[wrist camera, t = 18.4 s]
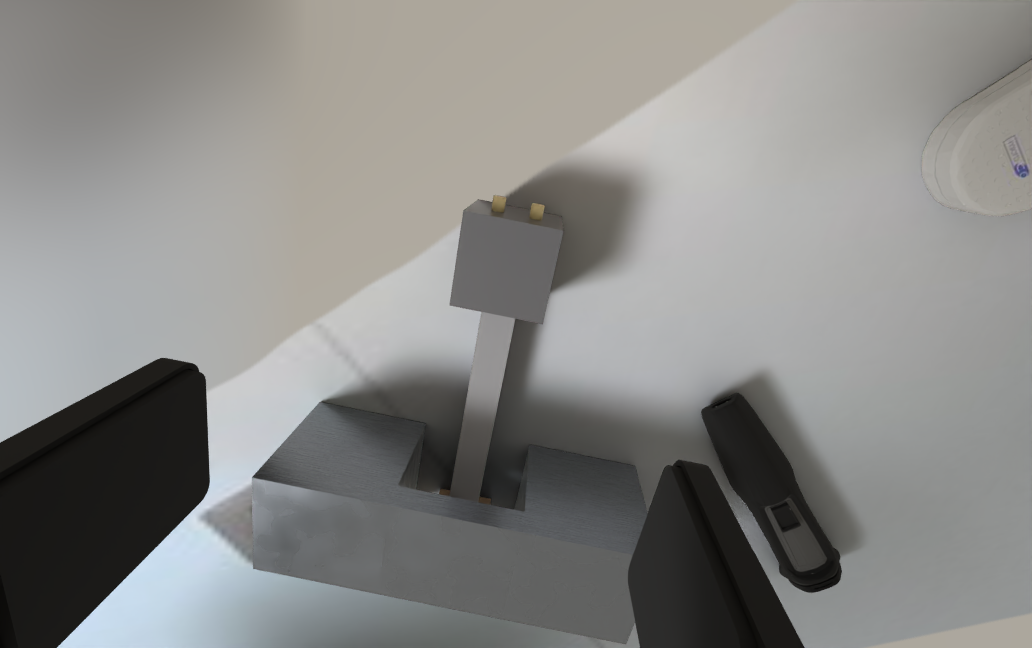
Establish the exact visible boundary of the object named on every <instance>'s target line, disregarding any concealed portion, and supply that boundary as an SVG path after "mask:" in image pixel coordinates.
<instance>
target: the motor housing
mask: <svg viewBox="0 0 1032 648" xmlns="http://www.w3.org/2000/svg"><path fill="white" fill-rule="evenodd" d="M425 425H426V423H421V422H416V421H412V420H407V419H402V418H397V417H392V416H387V415H382V414H377V413H372V412H367V411H362V410H357V409H353V408H348V407H343V406H338V405H333V404H328V403H323V402H319V404H318V405H317V406H316V407H315V408H314V409H313V410H312V411H311V413H310V414H309V415H308V416H307V417H306V418H305V419H304V420H303V421H302V423H301V424H300V425H299V426H298V427H297V428H296V429H295V430H294V431H293V433H292V434H291V435H290V436H289V437H288V438H287V439H286V440H285V441H284V443H283V444H282V445H281V446H280V447H279V448H278V449H277V450H276V451H275V453H274V454H273V455H272V456H271V457H270V458H269V459H268V460H267V461H266V463H265V464H264V465H263V466H262V467H261V468H260V469H259V470H258V471H257V473H256V474H255V475H254V476H253V477H252V517H253V569H257V570H262V571H267V572H272V573H277V574H282V575H287V576H292V577H296V578H301V579H306V580H311V581H316V582H321V583H326V584H331V585H336V586H341V587H346V588H351V589H356V590H361V591H366V592H370V593H375V594H380V595H385V596H390V597H395V598H400V599H405V600H410V601H415V602H420V603H425V604H430V605H435V606H440V607H444V608H449V609H454V610H459V611H464V612H469V613H474V614H479V615H484V616H489V617H494V618H499V619H504V620H509V621H514V622H518V623H523V624H528V625H533V626H538V627H543V628H548V629H553V630H558V631H563V632H568V633H573V634H578V635H583V636H588V637H593V638H597V639H602V640H607V641H612V642H617V643H622V644H626V643H627V641H628V638H629V636H630V633H631V631H632V628H633V626H634V623H635V618H634V612H633V607H632V602H631V597H630V592H629V586H628V569H629V565H630V562H631V559H632V556H633V553H634V551H635V548H636V545H637V542H638V539H639V537H640V534H641V531H642V528H643V526H644V523H645V520H646V517H647V515H648V514H647V510H646V506H645V502H644V498H643V494H642V490H641V487H640V483H639V479H638V475H637V471H636V467H635V466H633V465H628V464H623V463H618V462H613V461H608V460H603V459H598V458H593V457H589V456H584V455H579V454H574V453H569V452H564V451H559V450H554V449H549V448H544V447H539V446H534V445H529V449H528V454H527V458H526V462H525V466H524V470H523V475H522V479H521V483H520V487H519V491H518V495H517V500H516V504H515V508H514V509H509V508H504V507H499V506H494V505H489V504H484V503H479V502H474V501H469V500H464V499H460V498H455V497H450V496H445V495H440V494H435V493H430V492H425V491H420V490H416V488H417V481H418V474H419V467H420V460H421V453H422V446H423V439H424V432H425Z"/></svg>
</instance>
